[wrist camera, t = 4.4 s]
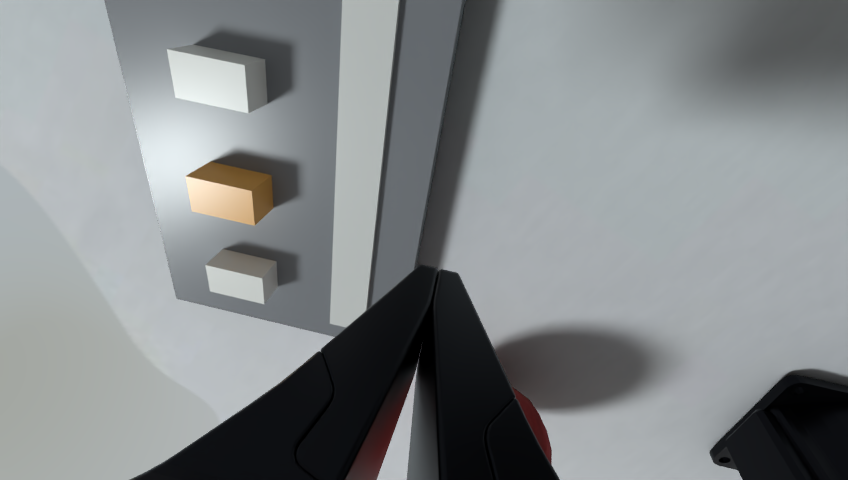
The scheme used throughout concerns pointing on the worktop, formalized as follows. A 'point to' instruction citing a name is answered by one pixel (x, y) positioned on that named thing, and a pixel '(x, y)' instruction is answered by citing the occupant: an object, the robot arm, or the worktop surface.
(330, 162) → the panel
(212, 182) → the block
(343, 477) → the robot arm
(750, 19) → the worktop surface
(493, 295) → the worktop surface
